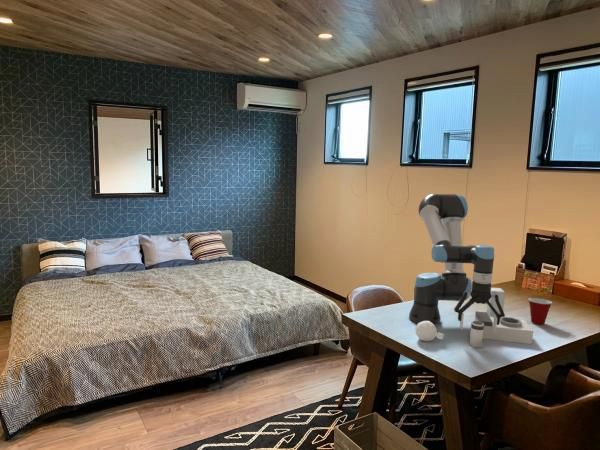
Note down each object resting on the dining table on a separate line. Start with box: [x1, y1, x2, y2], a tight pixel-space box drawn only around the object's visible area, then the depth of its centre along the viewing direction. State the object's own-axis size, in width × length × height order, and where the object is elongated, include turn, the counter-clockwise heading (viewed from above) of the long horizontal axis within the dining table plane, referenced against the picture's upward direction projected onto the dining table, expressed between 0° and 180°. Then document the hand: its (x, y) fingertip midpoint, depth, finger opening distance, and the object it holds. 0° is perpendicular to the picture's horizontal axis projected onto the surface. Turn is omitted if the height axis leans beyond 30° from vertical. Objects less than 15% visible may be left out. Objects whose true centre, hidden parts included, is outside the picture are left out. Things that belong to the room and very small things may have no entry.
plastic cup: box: [527, 297, 553, 326], centre depth 226 cm, size 11×11×12 cm
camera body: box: [474, 310, 534, 345], centre depth 207 cm, size 22×14×8 cm, turn 78°
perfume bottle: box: [415, 321, 445, 342], centre depth 197 cm, size 9×9×12 cm
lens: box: [469, 320, 484, 348], centre depth 194 cm, size 5×5×10 cm
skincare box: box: [486, 287, 506, 317], centre depth 229 cm, size 8×7×16 cm
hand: (477, 330), depth 194 cm, fingers open, 13 cm apart
